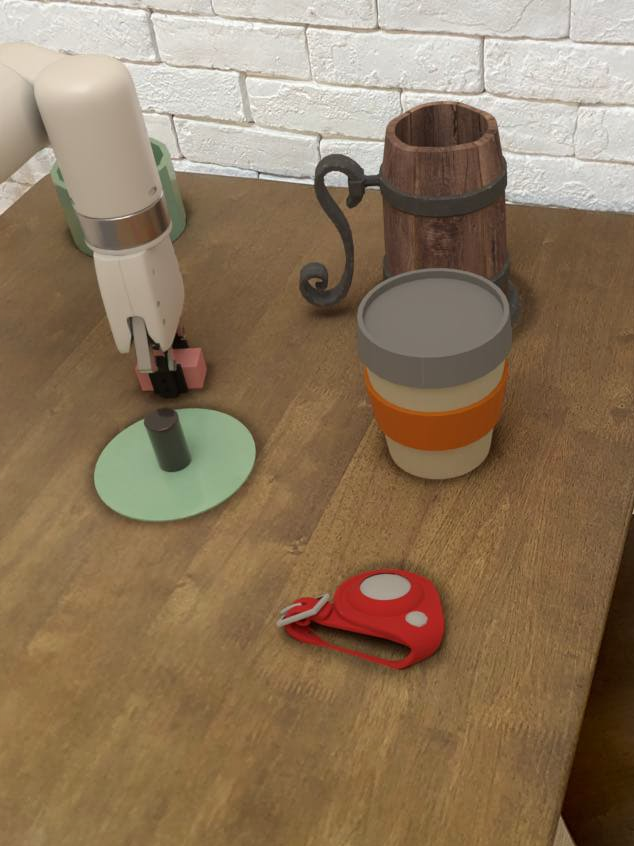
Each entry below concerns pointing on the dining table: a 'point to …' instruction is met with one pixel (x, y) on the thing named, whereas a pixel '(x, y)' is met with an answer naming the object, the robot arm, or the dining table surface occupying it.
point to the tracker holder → (375, 613)
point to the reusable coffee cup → (435, 367)
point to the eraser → (190, 365)
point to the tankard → (427, 200)
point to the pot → (168, 186)
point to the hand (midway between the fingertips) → (176, 385)
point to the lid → (174, 464)
